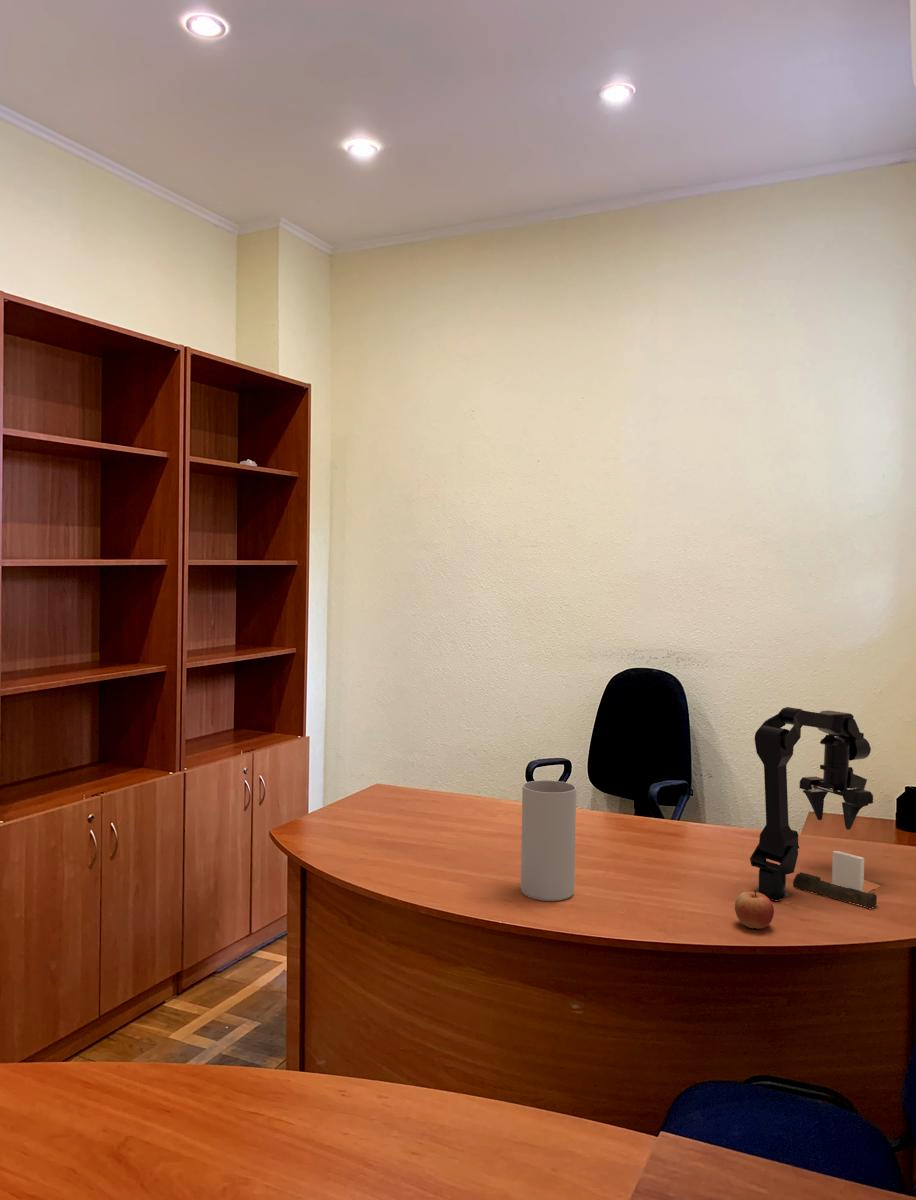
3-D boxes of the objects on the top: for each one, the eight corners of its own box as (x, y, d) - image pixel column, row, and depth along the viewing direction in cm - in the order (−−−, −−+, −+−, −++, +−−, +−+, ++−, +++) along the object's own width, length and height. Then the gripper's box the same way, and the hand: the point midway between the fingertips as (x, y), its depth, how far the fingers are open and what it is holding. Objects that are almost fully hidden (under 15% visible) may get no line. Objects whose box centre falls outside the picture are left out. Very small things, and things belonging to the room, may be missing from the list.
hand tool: (878, 909, 205) (878, 889, 205) (870, 913, 202) (871, 893, 202) (799, 887, 219) (799, 868, 219) (790, 891, 216) (791, 871, 216)
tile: (860, 892, 213) (861, 859, 213) (831, 884, 219) (832, 851, 218) (863, 891, 214) (864, 857, 214) (835, 883, 220) (836, 850, 219)
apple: (746, 916, 199) (747, 880, 199) (780, 927, 193) (781, 890, 193) (726, 925, 193) (727, 888, 193) (760, 936, 188) (761, 898, 187)
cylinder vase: (585, 894, 211) (587, 787, 210) (548, 906, 203) (550, 795, 202) (546, 880, 220) (548, 778, 220) (509, 891, 212) (511, 785, 211)
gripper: (891, 768, 219) (888, 832, 220) (832, 753, 237) (829, 813, 237) (856, 770, 215) (854, 835, 215) (799, 755, 232) (796, 816, 233)
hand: (833, 824), depth 225 cm, fingers open, 9 cm apart
